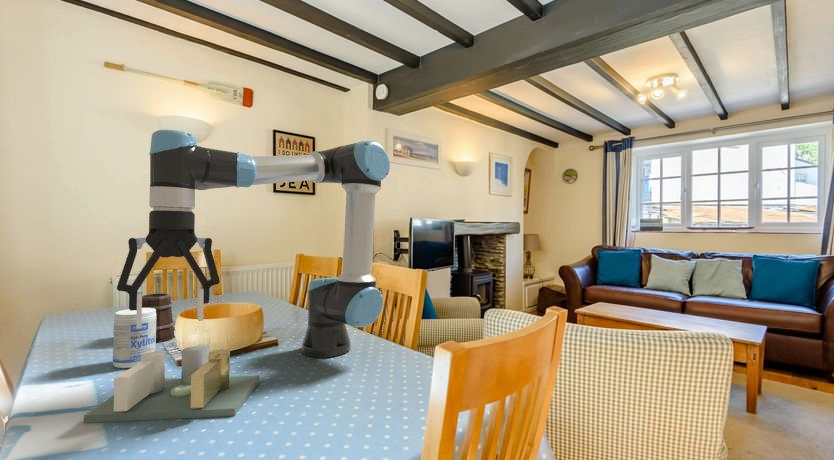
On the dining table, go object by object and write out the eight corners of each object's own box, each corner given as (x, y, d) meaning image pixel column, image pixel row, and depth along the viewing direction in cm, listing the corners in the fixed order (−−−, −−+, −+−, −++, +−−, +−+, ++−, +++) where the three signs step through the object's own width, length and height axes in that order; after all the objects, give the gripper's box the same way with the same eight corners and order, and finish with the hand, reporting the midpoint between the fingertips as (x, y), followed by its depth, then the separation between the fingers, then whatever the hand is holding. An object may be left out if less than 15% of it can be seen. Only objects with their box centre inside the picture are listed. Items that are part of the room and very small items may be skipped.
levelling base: (261, 378, 94) (262, 340, 94) (234, 415, 75) (235, 368, 75) (143, 382, 90) (143, 342, 90) (83, 423, 71) (84, 373, 71)
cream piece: (168, 385, 85) (169, 350, 85) (132, 413, 72) (133, 373, 72) (147, 386, 84) (148, 351, 84) (108, 414, 71) (108, 373, 71)
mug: (183, 336, 128) (183, 293, 128) (146, 346, 117) (147, 299, 117) (154, 331, 134) (154, 290, 134) (116, 340, 123) (117, 295, 123)
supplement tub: (135, 370, 97) (136, 315, 97) (102, 368, 98) (103, 314, 98) (163, 357, 107) (164, 307, 107) (134, 356, 108) (135, 306, 108)
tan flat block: (232, 383, 86) (232, 349, 86) (208, 410, 74) (209, 370, 74) (212, 383, 86) (213, 349, 86) (185, 411, 73) (185, 371, 73)
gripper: (230, 213, 82) (228, 312, 82) (100, 208, 69) (98, 327, 69) (237, 212, 76) (235, 319, 76) (97, 206, 63) (95, 336, 63)
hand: (170, 323), depth 72 cm, fingers open, 9 cm apart
